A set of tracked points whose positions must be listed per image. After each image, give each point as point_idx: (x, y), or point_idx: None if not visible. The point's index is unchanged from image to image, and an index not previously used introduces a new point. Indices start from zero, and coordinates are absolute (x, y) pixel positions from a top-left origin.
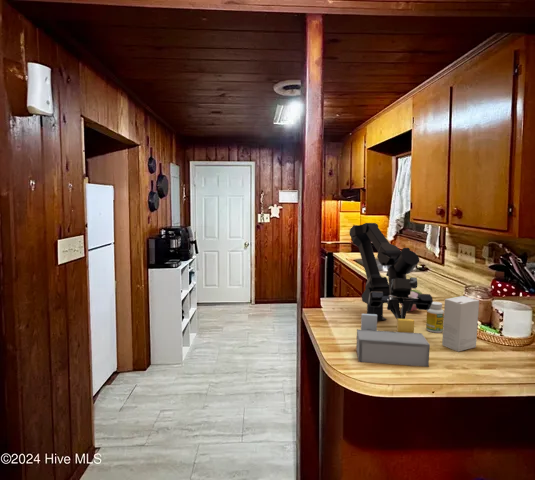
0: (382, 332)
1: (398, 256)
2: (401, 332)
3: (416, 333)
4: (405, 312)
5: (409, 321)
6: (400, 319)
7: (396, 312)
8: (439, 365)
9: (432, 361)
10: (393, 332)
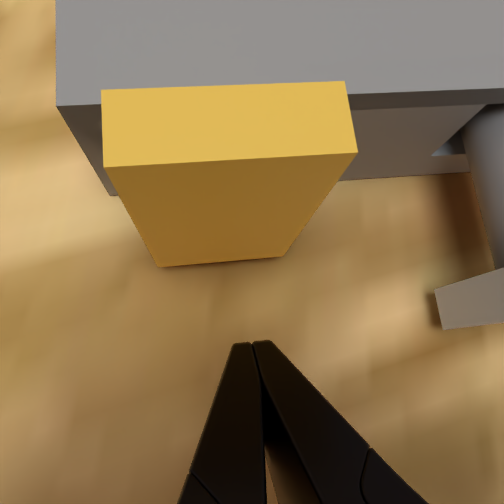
0: (451, 48)
1: None
2: None
3: None
4: (201, 492)
5: (177, 95)
6: (310, 119)
7: (387, 473)
8: (27, 35)
9: None
10: (351, 68)
